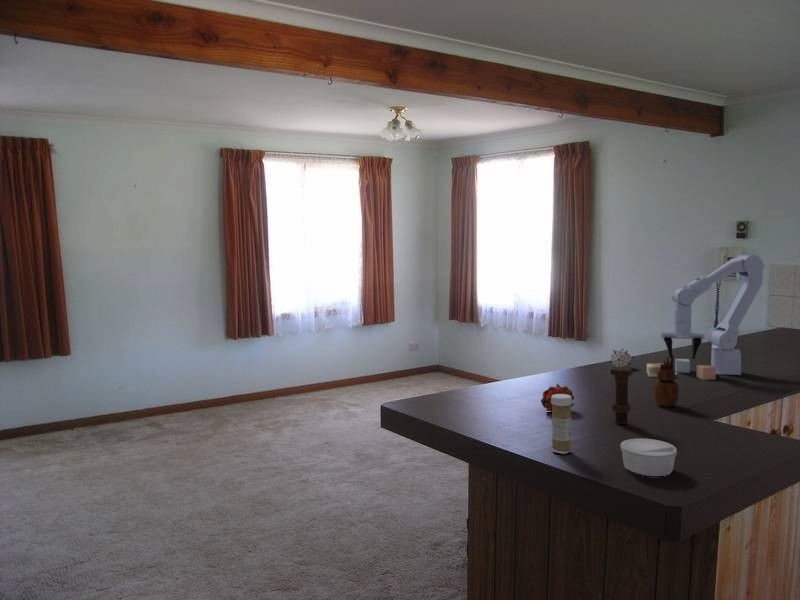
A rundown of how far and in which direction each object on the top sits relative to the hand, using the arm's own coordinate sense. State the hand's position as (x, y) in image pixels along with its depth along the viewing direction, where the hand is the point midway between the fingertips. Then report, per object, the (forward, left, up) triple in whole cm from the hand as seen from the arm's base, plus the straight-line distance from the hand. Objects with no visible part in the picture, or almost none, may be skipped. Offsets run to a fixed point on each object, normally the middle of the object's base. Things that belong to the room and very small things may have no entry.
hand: (681, 358), depth 229 cm
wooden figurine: (+12, +50, -6) cm, 52 cm away
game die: (+21, -3, -6) cm, 22 cm away
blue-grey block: (0, 0, -6) cm, 6 cm away
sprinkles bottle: (+41, +99, -6) cm, 107 cm away
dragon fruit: (+43, +63, -6) cm, 76 cm away
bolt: (+26, +72, -6) cm, 77 cm away
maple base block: (+9, +8, -5) cm, 13 cm away
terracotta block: (-6, +11, -6) cm, 14 cm away
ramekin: (+23, +107, -6) cm, 110 cm away
